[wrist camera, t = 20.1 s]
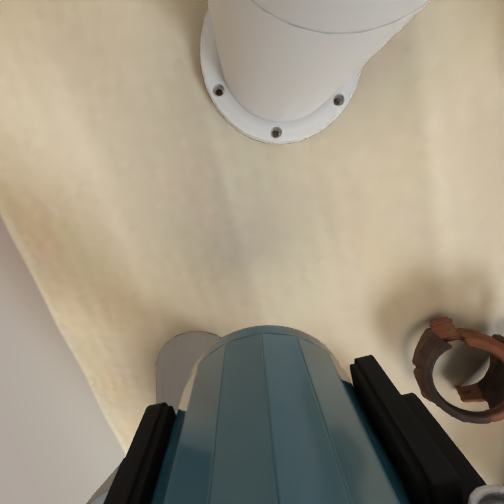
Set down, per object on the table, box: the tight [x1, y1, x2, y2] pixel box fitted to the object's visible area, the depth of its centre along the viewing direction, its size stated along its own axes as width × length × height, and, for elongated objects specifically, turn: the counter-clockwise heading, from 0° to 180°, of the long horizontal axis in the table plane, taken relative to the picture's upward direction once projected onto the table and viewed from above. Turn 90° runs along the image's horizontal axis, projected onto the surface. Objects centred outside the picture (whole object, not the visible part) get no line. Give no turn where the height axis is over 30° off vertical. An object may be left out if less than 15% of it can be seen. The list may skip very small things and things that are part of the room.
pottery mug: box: [412, 317, 504, 424], centre depth 27 cm, size 12×10×8 cm
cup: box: [151, 325, 414, 504], centre depth 7 cm, size 6×6×7 cm
